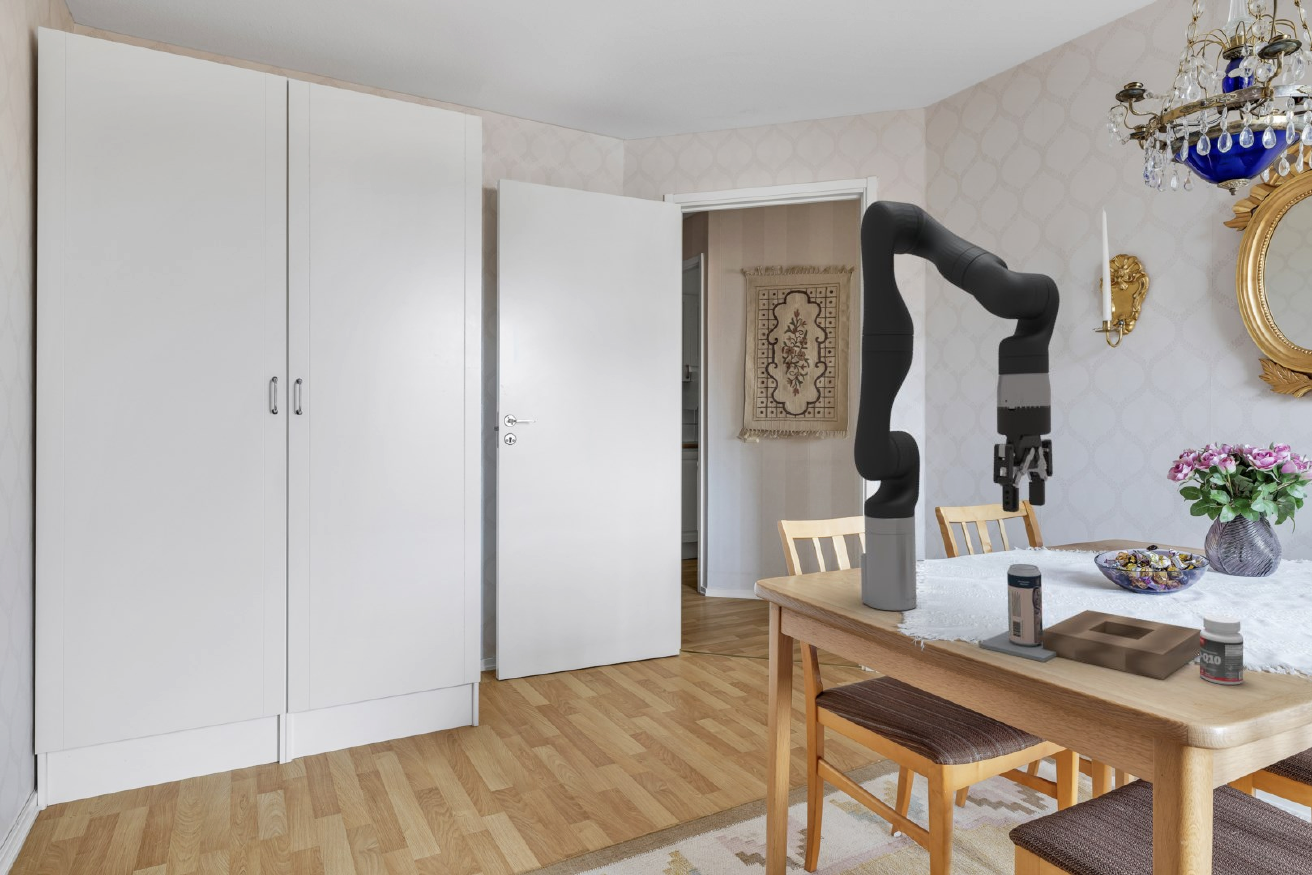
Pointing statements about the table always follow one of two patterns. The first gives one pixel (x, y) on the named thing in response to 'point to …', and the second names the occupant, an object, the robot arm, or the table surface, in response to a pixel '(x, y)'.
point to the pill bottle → (1221, 650)
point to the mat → (1017, 648)
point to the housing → (1123, 643)
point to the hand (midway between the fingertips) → (1024, 508)
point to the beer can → (1025, 604)
